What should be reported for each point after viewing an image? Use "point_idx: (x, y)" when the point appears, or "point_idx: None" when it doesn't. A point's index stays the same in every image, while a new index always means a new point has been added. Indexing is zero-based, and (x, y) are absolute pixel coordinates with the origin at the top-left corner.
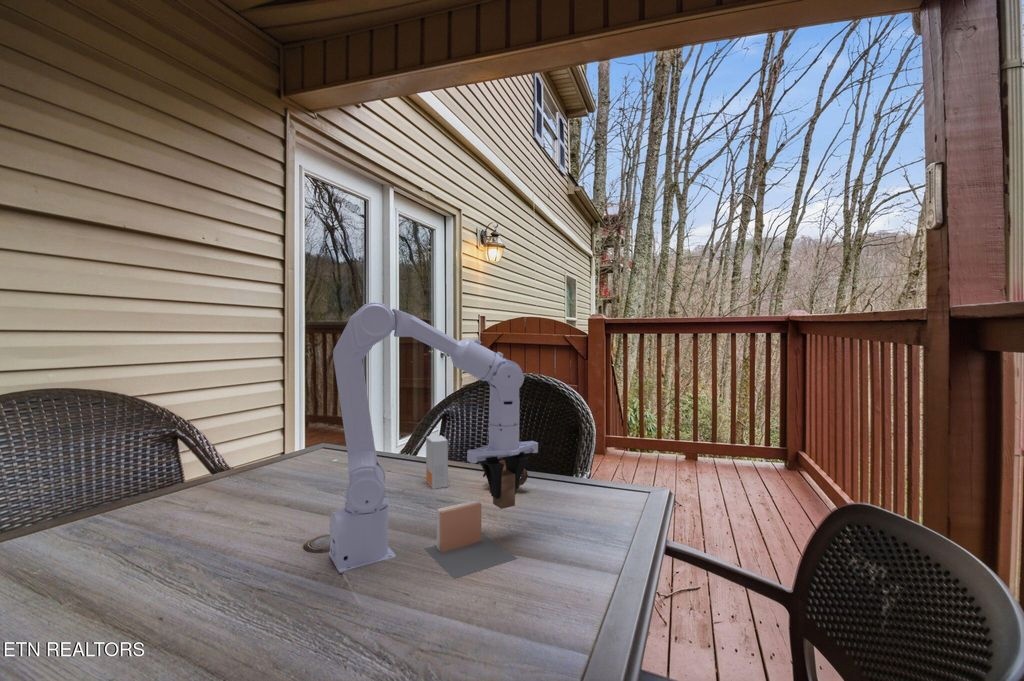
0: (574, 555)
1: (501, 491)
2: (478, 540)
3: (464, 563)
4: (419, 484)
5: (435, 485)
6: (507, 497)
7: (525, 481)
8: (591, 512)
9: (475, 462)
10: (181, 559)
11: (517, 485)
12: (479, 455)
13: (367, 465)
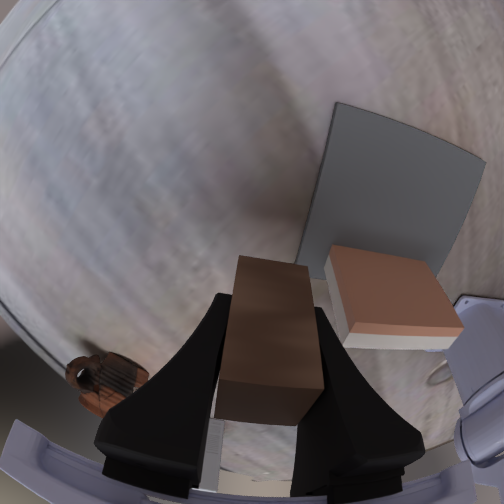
0: (176, 25)
1: (315, 321)
2: (340, 248)
3: (438, 190)
4: (230, 432)
5: (219, 424)
6: (279, 290)
7: (76, 358)
8: (9, 197)
9: (461, 465)
10: None
11: (207, 319)
12: (453, 498)
13: None
